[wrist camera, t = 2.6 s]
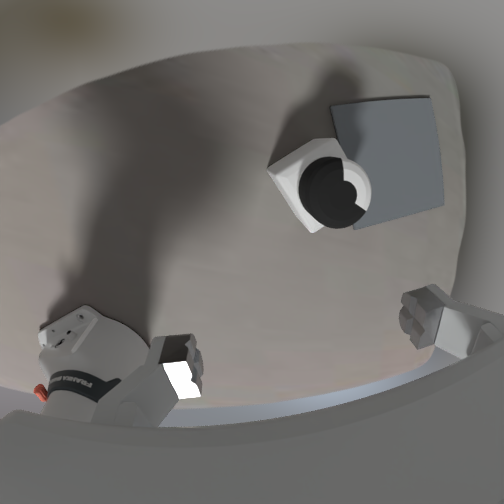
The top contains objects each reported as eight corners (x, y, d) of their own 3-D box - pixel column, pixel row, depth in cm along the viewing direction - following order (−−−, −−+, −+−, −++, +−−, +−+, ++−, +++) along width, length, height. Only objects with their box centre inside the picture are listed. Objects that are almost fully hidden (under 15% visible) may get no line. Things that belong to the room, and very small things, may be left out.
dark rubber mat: (353, 229, 36) (354, 230, 35) (329, 106, 30) (331, 106, 30) (442, 204, 36) (444, 205, 35) (428, 98, 30) (430, 98, 29)
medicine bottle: (296, 217, 35) (327, 253, 24) (265, 168, 32) (283, 181, 21) (343, 187, 34) (392, 209, 23) (315, 137, 31) (357, 136, 20)
